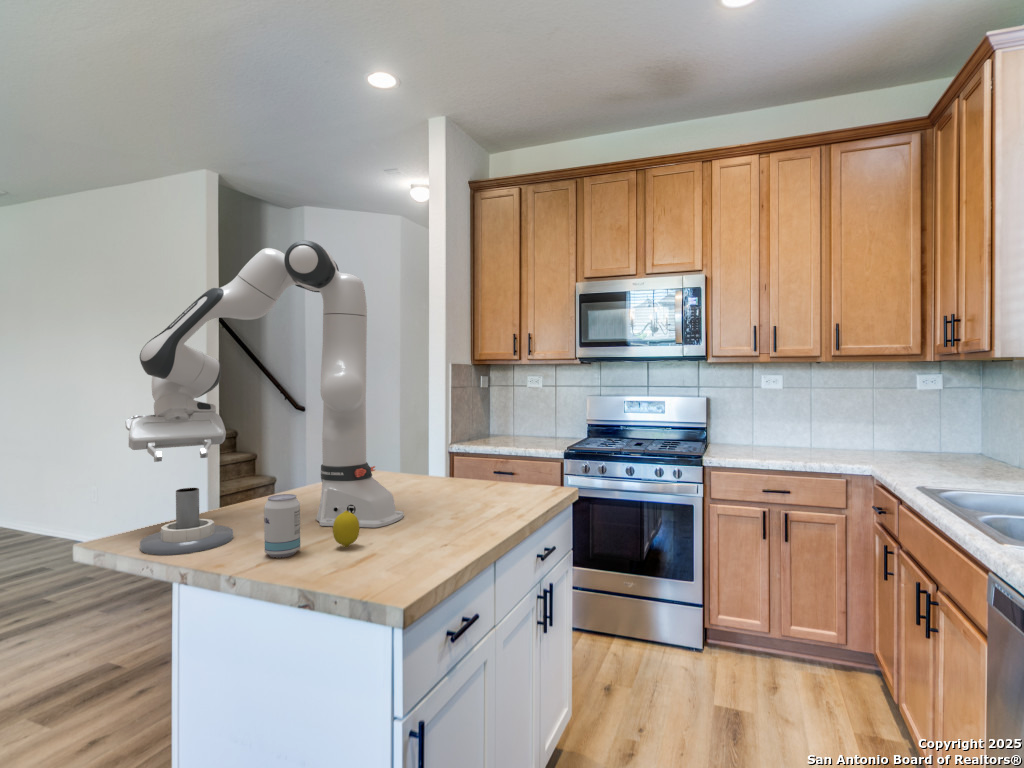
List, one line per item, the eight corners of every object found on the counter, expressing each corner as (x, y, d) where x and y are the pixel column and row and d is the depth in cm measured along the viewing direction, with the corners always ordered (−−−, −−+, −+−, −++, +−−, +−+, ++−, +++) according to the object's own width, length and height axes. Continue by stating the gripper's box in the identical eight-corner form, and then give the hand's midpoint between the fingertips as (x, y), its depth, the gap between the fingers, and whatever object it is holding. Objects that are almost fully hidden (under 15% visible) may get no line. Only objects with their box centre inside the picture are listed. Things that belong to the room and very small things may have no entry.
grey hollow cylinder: (175, 534, 127) (174, 489, 126) (198, 531, 129) (197, 486, 129) (177, 539, 123) (176, 492, 123) (200, 535, 126) (200, 490, 125)
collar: (250, 535, 131) (250, 518, 131) (183, 558, 114) (183, 539, 114) (192, 528, 137) (192, 512, 137) (119, 550, 120) (119, 531, 120)
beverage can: (264, 551, 119) (264, 495, 119) (299, 547, 122) (299, 492, 122) (264, 561, 113) (263, 501, 113) (301, 556, 116) (300, 498, 115)
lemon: (352, 552, 119) (351, 514, 118) (328, 550, 120) (327, 513, 120) (364, 544, 124) (363, 508, 124) (341, 543, 125) (340, 507, 125)
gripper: (125, 407, 132) (128, 453, 124) (222, 404, 144) (230, 446, 137) (124, 425, 135) (127, 471, 128) (218, 420, 148) (227, 462, 140)
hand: (181, 458), depth 132 cm, fingers open, 8 cm apart
